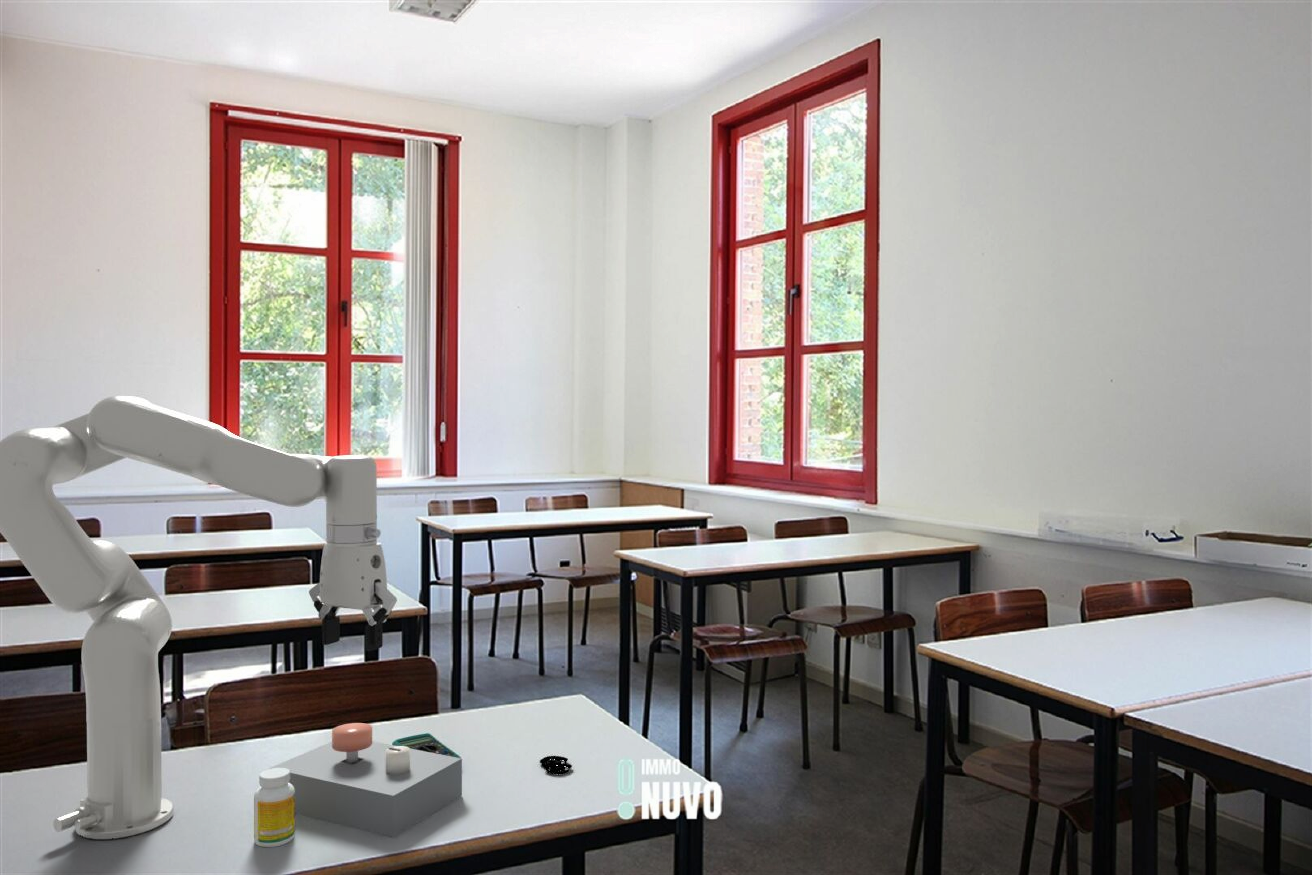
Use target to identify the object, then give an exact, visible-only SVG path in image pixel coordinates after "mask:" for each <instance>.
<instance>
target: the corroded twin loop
mask: <svg viewBox="0 0 1312 875" xmlns="http://www.w3.org/2000/svg"><path fill="white" fill-rule="evenodd" d="M550 759H551V760H550ZM552 759H553V760H552ZM554 759H555V760H554ZM556 760H557V761H556ZM560 760H564V761H565V762H564V761H563V762H562V761H560ZM568 760H569V759H568V758H567V757H564V756H561V755H560V756H559V755H547V756H545V757H542V758H541V759H540V760H539V764H541V765H542V766H541V765H540V766H541V767H543V768H544V770H545V772H546V773H547V774H550V775H553V774H558V775H557V776H560V775H559V774H564V775H565V773H566V774H567V773H568V771H569V770H570V771H571V769H572V767H573V765H572V764H571V763H567V762H568ZM547 761H549V762H547ZM559 761H560V762H559ZM556 765H558V766H556ZM564 766H566V767H568V768H565V767H564ZM560 770H561V771H560ZM570 771H569V772H570Z"/></svg>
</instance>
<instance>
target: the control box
mask: <svg viewBox="0 0 1312 875" xmlns="http://www.w3.org/2000/svg"><path fill="white" fill-rule="evenodd" d="M389 747H395V745H392V744H390V743H389V744H388V743H383V742H378V741H374V740H372V745H371V746H370V747H368V748H366V749H363V750H359V751H358V762H357V763H353V764H349V763H347V762H346V752H340V751H336V750H334V749H333V748H332V741H330V742H328V743H325V744H323V745H321V746H318V747H316V748H314V749H311V750H309V751H307V752H306V751H305V753H301V754H300V755H297V756H295V757H293V758H289V759H287V760H286V761H284V762H281V763H279V764H277V765H273V766H271V767H269V769H272V768H286V769H289V771H290V780H289V782H288V783H290V784H292V785H293V787H294V789H295V814H297V815H301V816H305V817H310V818H313V819H317V820H322V821H325V822H331V823H334V824H337V825H343V826H346V827H349V828H354V829H359V830H363V831H366V832H370V833H374V834H379V835H383V836H386V837H392V838H395V837H397V836H399V835H401V833H403V832H405V831H406V830H408V829H410V828H412V827H413V826H415V825H416V824H418V823H420V822H422V821H423V820H425V819H427V818H429V817H430V816H432V815H433V814H435V813H437V812H439V811H440V810H442V809H443V808H445V807H446V806H449V805H450V804H452V803H453V802H456V801H457V800H458V799H459V798H461V797H462V796H463V759H462V757H461V758H456V757H451V756H446V755H441V754H436V753H430V752H425V751H420V750H415V749H410V770H409V771H407V772H405V773H401V774H389V773H387V772H386V750H387V749H388V748H389Z"/></svg>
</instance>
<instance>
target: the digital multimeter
mask: <svg viewBox="0 0 1312 875" xmlns="http://www.w3.org/2000/svg"><path fill="white" fill-rule="evenodd" d="M391 745H395V746H406V747H409V748H410V749H415V750H420V751H425V752H430V753H436V754H441V755H446V756H451V757H456V758H461V759H462V756H460V754H457V753H456V752H454V751H453V750H451V749H450V748H449V747H447V746H446V745H445V744H443V743H442V742H441V741H440V740H438V739H437V738H436V737H434V736H433V735H432V734H431V733H429V732H428V733H427V732H426V733H420V734H415V735H411V736H406V737H401V738H397V739H395V740H394V741H392V744H391Z"/></svg>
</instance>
